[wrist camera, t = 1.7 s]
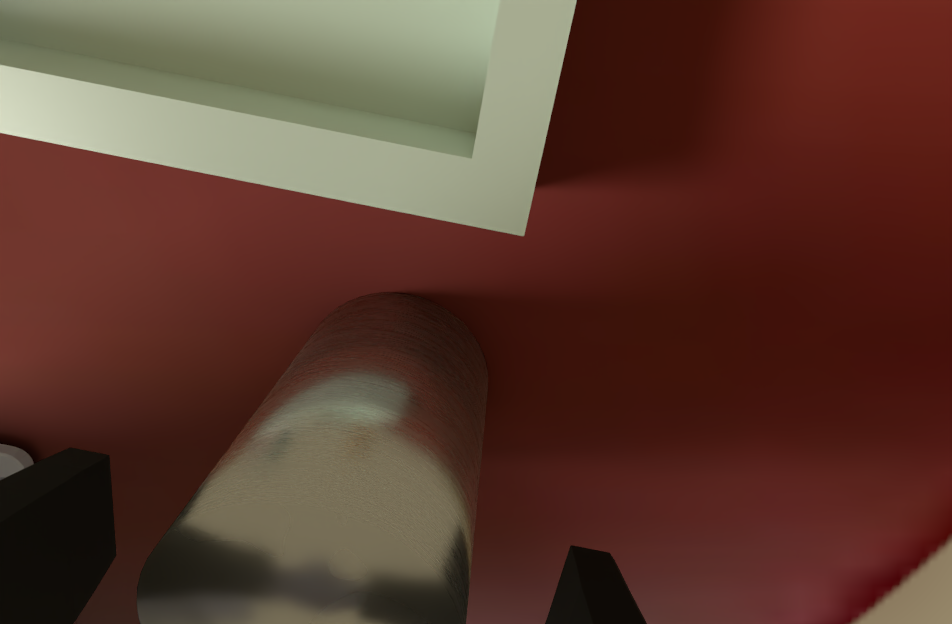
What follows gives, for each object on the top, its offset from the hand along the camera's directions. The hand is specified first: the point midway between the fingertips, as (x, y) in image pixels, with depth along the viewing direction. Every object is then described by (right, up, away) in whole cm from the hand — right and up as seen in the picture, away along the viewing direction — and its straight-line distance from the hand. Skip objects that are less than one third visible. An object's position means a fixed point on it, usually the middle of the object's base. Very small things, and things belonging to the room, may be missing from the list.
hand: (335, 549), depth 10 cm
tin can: (0, +2, +5) cm, 6 cm away
